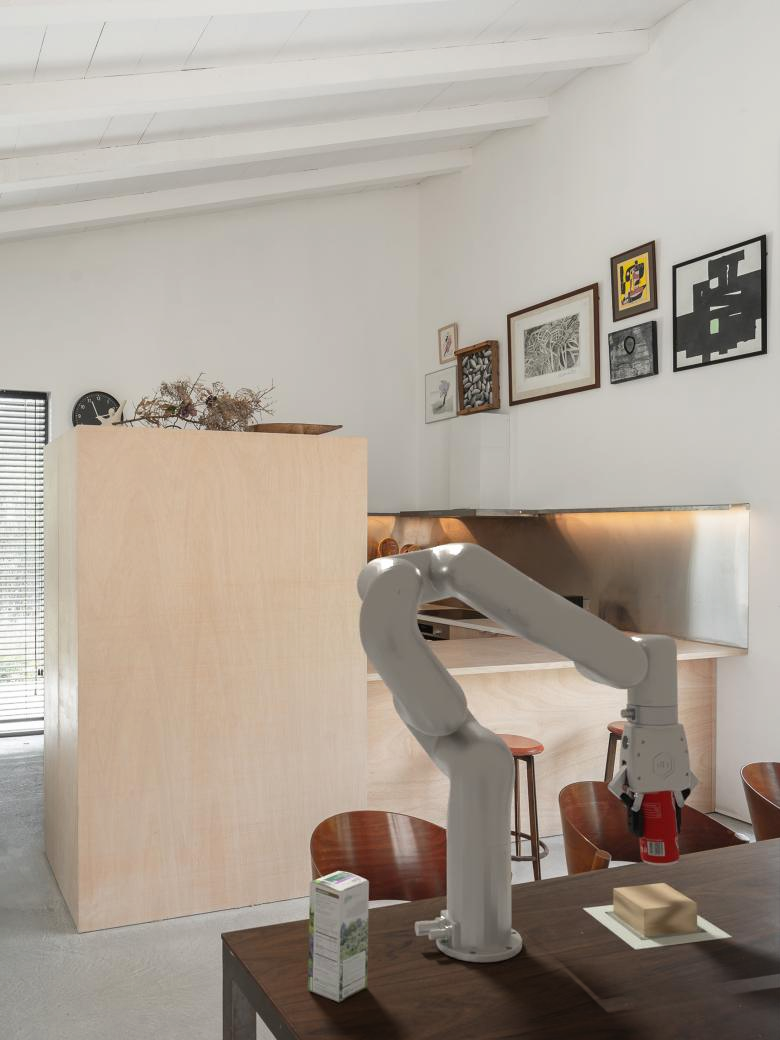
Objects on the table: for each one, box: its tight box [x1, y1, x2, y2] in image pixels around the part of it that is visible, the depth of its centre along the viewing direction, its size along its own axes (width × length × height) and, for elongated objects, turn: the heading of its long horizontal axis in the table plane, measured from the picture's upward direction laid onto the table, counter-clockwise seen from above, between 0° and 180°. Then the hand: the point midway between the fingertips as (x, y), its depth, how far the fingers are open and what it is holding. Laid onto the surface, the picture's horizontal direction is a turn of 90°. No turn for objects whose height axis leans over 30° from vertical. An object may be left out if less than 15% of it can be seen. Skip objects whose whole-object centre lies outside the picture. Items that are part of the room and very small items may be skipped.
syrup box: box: [307, 870, 370, 1003], centre depth 124 cm, size 6×6×14 cm
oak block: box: [612, 882, 698, 937], centre depth 144 cm, size 9×9×4 cm
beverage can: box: [638, 791, 680, 866], centre depth 144 cm, size 6×6×15 cm
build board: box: [582, 904, 732, 951], centre depth 143 cm, size 16×16×1 cm
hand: (654, 832), depth 144 cm, fingers closed on beverage can, 5 cm apart
